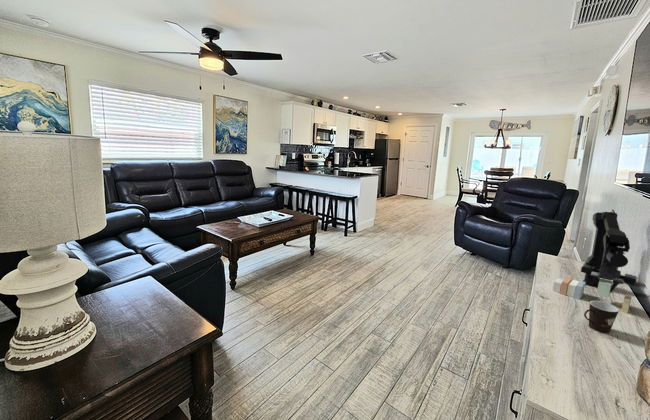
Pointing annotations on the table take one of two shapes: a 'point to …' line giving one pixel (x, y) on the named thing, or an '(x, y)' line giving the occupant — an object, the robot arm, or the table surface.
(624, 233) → the robot arm
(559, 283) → the book row
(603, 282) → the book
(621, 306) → the bookend
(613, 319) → the coffee mug
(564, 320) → the table surface
